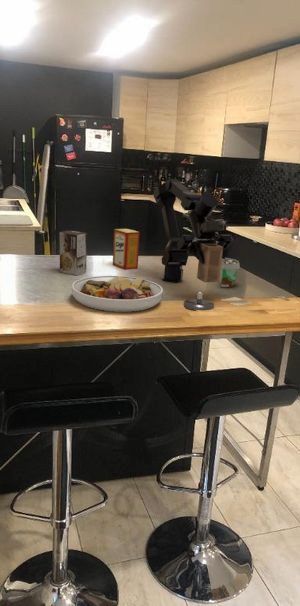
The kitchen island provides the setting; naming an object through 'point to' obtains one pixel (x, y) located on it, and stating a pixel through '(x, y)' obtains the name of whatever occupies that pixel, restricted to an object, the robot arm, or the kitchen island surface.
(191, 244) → the robot arm
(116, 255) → the baking soda box
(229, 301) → the cork pad
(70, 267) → the coffee box
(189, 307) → the hub
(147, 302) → the bowl
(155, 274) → the kitchen island surface
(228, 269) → the food container
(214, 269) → the collar
